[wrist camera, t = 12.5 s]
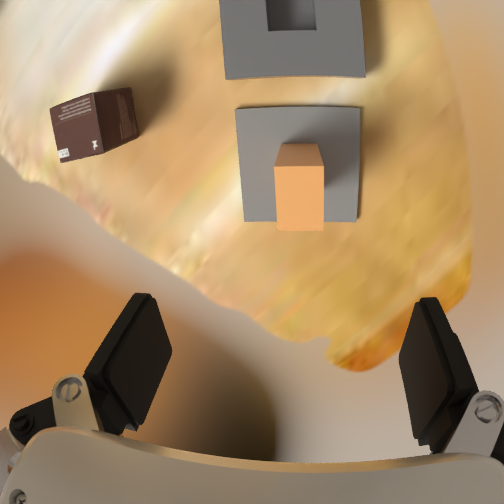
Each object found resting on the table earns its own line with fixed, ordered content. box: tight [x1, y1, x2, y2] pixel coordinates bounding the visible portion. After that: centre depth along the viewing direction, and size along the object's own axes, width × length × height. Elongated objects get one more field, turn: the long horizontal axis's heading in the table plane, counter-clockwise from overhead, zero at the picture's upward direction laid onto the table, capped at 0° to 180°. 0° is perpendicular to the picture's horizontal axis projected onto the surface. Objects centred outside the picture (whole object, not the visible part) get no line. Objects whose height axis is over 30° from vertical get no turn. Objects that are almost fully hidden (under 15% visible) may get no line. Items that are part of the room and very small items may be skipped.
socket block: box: [219, 0, 366, 80], centre depth 21 cm, size 14×12×4 cm
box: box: [50, 88, 139, 163], centre depth 27 cm, size 6×6×7 cm
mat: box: [235, 106, 360, 222], centre depth 31 cm, size 12×12×1 cm
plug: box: [274, 143, 324, 230], centre depth 26 cm, size 5×4×9 cm
